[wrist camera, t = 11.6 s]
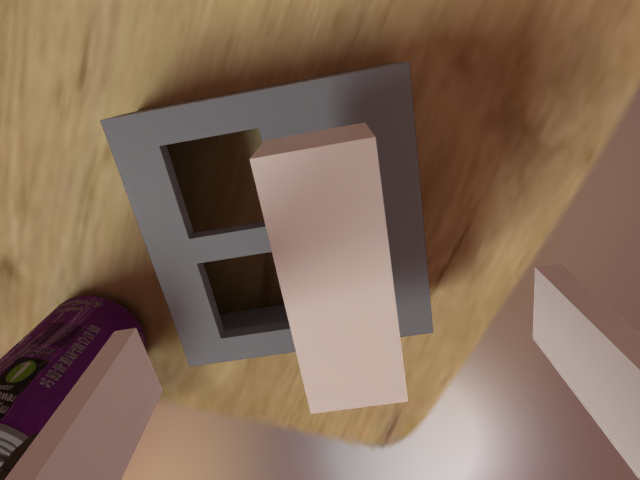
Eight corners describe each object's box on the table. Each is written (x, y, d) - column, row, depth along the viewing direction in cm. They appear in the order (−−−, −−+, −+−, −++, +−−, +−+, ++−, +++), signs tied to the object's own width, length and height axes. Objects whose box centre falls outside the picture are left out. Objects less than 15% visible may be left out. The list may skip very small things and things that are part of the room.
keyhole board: (207, 327, 32) (189, 366, 28) (136, 111, 26) (100, 120, 22) (418, 296, 31) (433, 332, 27) (395, 62, 25) (409, 62, 21)
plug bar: (281, 118, 26) (249, 158, 15) (353, 105, 26) (375, 136, 15) (315, 287, 31) (310, 413, 19) (377, 278, 30) (407, 401, 19)
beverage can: (76, 273, 30) (-66, 393, 19) (165, 321, 32) (80, 457, 21) (42, 340, 33) (-104, 482, 22) (126, 382, 34) (31, 535, 23)
